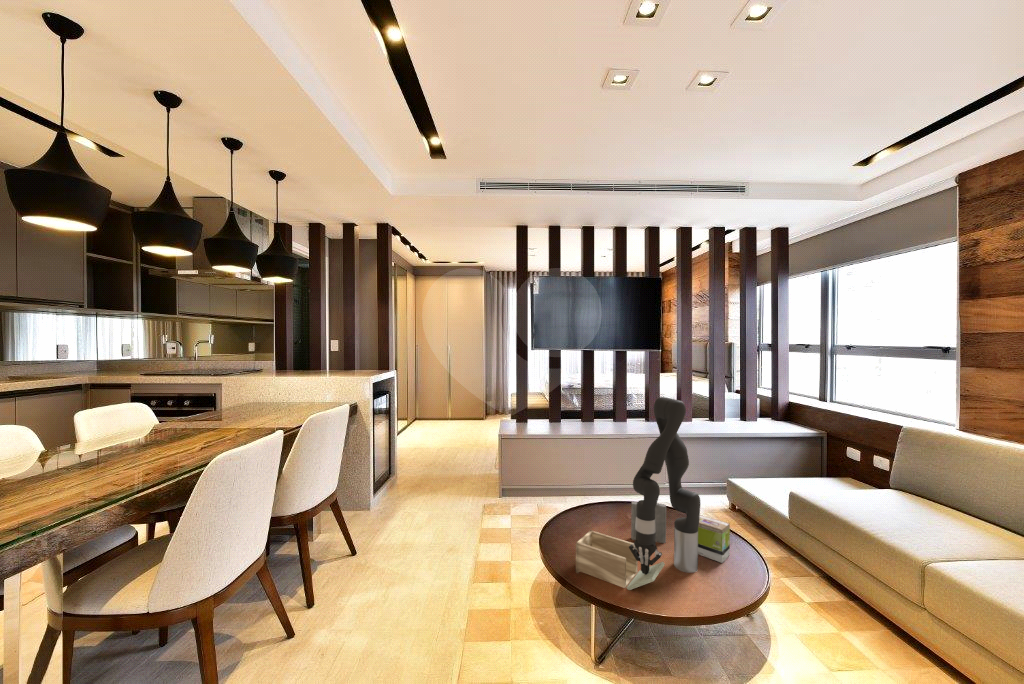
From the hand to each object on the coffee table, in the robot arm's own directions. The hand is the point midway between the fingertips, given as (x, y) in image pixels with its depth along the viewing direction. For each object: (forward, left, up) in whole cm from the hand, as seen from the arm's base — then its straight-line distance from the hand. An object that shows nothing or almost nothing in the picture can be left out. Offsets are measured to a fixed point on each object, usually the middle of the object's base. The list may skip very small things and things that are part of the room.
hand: (645, 572), depth 161 cm
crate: (0, -16, -6) cm, 17 cm away
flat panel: (0, -5, -5) cm, 6 cm away
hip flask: (-39, -12, -6) cm, 41 cm away
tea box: (-43, +14, -6) cm, 46 cm away
